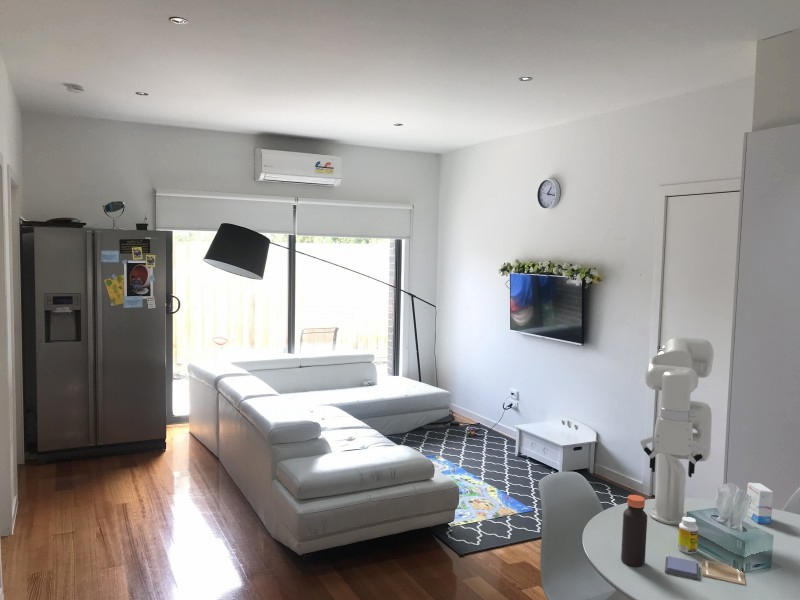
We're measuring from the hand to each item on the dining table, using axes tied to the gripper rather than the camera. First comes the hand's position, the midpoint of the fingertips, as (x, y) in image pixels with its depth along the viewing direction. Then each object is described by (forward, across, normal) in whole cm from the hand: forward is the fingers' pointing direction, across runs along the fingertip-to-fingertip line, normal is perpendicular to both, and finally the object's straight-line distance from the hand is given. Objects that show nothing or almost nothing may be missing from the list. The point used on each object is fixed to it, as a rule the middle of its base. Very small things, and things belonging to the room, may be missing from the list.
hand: (671, 473), depth 178 cm
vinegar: (+31, +9, -5) cm, 33 cm away
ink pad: (+31, -5, -6) cm, 32 cm away
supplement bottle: (+31, -7, -20) cm, 37 cm away
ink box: (+31, -32, -57) cm, 72 cm away
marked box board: (+31, -16, -10) cm, 36 cm away
